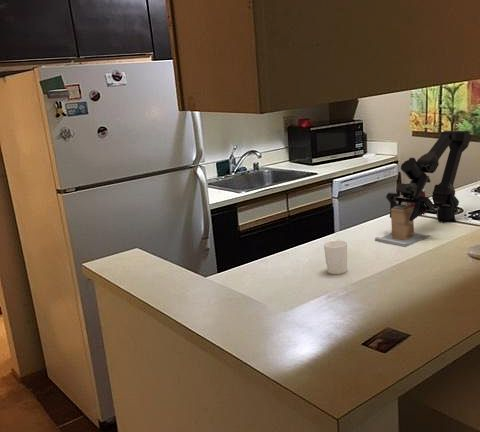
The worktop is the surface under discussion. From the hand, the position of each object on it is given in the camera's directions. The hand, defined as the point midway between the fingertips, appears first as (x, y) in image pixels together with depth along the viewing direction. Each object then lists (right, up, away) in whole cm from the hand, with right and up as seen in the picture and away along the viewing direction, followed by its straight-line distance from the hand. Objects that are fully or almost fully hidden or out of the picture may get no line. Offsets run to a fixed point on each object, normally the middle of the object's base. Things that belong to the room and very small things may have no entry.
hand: (400, 219), depth 216 cm
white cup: (-29, -18, -24) cm, 41 cm away
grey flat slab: (+2, -8, +3) cm, 8 cm away
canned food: (+17, +2, +35) cm, 39 cm away
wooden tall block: (+2, -7, +3) cm, 8 cm away
